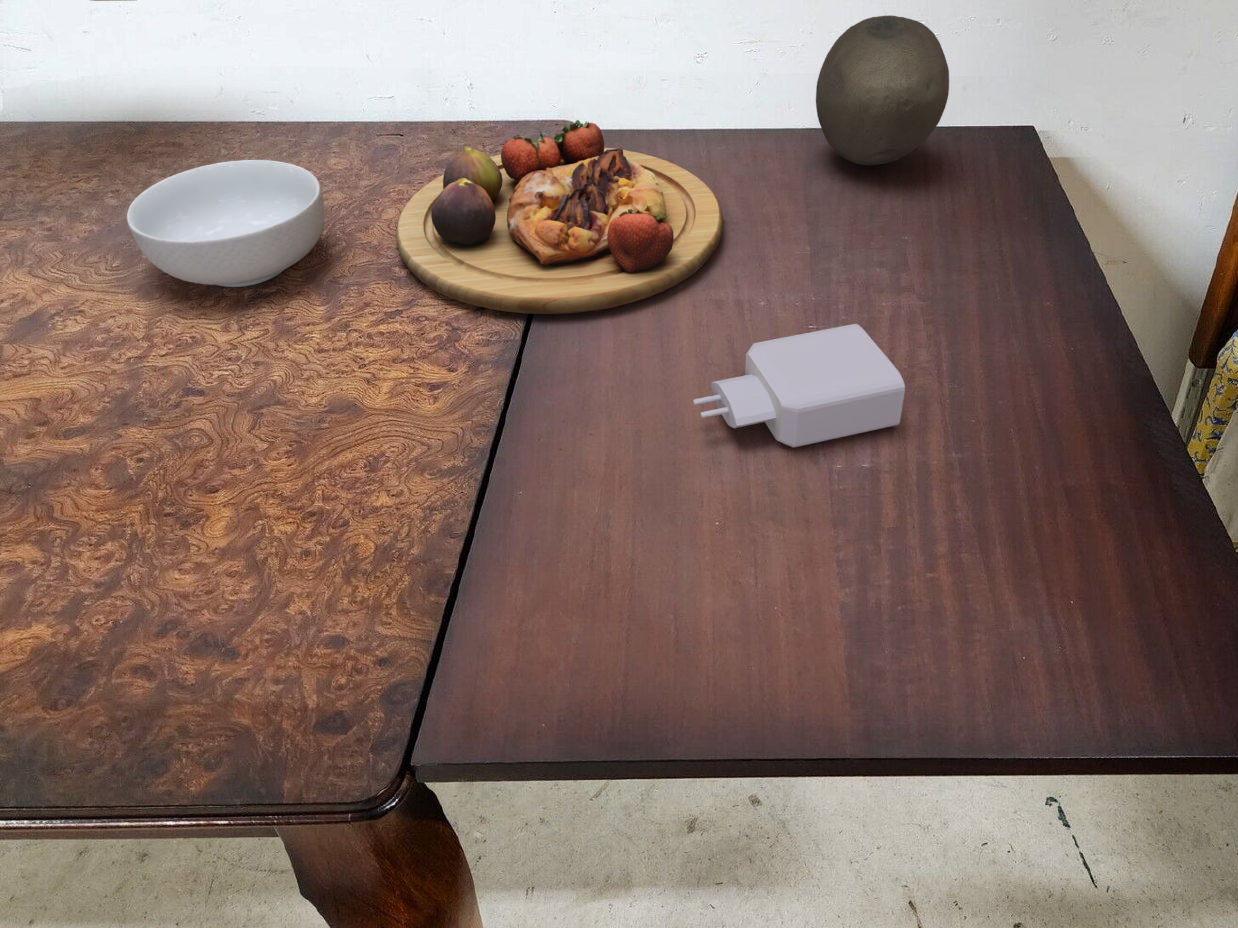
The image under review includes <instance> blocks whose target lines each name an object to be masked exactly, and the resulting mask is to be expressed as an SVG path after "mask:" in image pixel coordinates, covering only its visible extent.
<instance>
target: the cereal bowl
mask: <svg viewBox="0 0 1238 928" xmlns="http://www.w3.org/2000/svg"><path fill="white" fill-rule="evenodd" d="M322 191H323V190H322V187H321V183H320V182H319V180H318V178H317V177H316V176H315V174H313V173H312V172H311V171H309V170H307V169H306V168H304V167H301V166H298V165H297V164H293V163H289V162H283V161H280V160H279V161H278V160H270V159H242V160H241V159H240V160H230V161H223V162H217V163H216V162H215V163H211V164H206V165H202V166H198V167H194V168H190V169H187V170H184V171H182V172H178V173H176V174H173V175H171V176H168V177H165V178H164V179H162V180H159V181H158V182H156V183H154V184H152V185H150V186H149V187H148V188H146V189H145V190H143V191H142V192H141V193H140V194H139V195H138V196H136V197H135V198H134V199H133V200H132V202H131V203H130V205H129V207H128V209H127V213H126V222H127V226H128V229H129V231H130V232H131V235H132V238H133V239H134V241H135V242H136V245H137V247H138V248H139V250H140V252H142V255H144V256H145V257H146V259H147V260H148V261H149V262H150V263H151V264H152V265H154V266H155V267H156V268H158V269H159V270H161V271H162V272H163V273H165V274H168V275H169V276H171V277H174V278H175V279H179V280H181V281H185V282H188V283H194V284H201V285H210V286H219V287H225V288H226V287H227V288H240V287H241V288H242V287H248V286H253V285H257V284H261V283H264V282H267V281H269V280H272V279H273V278H275V277H277V276H278V275H280V274H281V273H283V271H285V270H286V269H288V268H290V267H292V266H294V265H295V264H296V263H298V262H300V261H301V260H302V259H303V258H304V257H306V255H308V254H309V253H310V252H311V251H312V249H313V248H315V246H316V244H317V243H318V241H319V240H320V238H321V235H322V233H323V229H324V226H325V221H326V216H325V215H326V209H325V201H324V195H323V192H322Z"/></svg>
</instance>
